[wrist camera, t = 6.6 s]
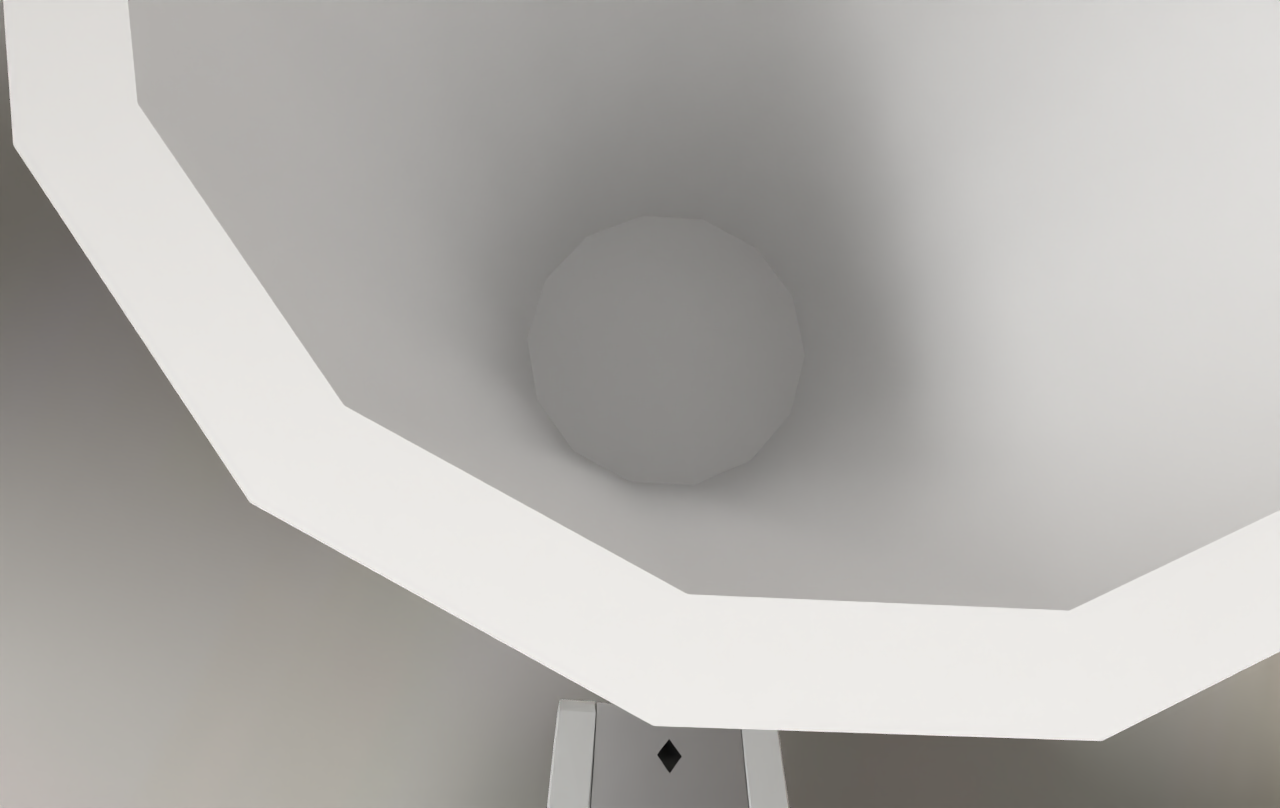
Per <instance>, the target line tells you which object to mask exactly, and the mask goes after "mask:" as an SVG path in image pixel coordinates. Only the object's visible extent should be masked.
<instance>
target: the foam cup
mask: <svg viewBox="0 0 1280 808" xmlns="http://www.w3.org/2000/svg"><path fill="white" fill-rule="evenodd" d="M3 7H4V22H5V36H6V50H7V64H8V78H9V93H10V107H11V121H12V135H13V146H14V147H15V149H16V150H17V152H18V153H19V155H20V156H21V158H22V159H23V161H24V162H25V164H26V165H27V167H28V168H29V170H30V171H31V173H32V174H33V176H34V177H35V179H36V180H37V182H38V183H39V185H40V186H41V188H42V189H43V191H44V192H45V194H46V196H47V197H48V199H49V200H50V202H51V203H52V205H53V206H54V208H55V209H56V211H57V212H58V214H59V215H60V217H61V218H62V220H63V221H64V223H65V224H66V226H67V227H68V229H69V230H70V232H71V233H72V235H73V236H74V238H75V239H76V241H77V242H78V244H79V245H80V247H81V248H82V250H83V251H84V253H85V254H86V256H87V257H88V259H89V260H90V262H91V263H92V265H93V266H94V268H95V269H96V271H97V273H98V274H99V276H100V277H101V279H102V280H103V282H104V283H105V285H106V286H107V288H108V289H109V291H110V292H111V294H112V295H113V297H114V298H115V300H116V301H117V303H118V304H119V306H120V307H121V309H122V310H123V312H124V313H125V315H126V316H127V318H128V319H129V321H130V322H131V324H132V325H133V327H134V328H135V330H136V331H137V333H138V334H139V336H140V337H141V339H142V340H143V342H144V343H145V345H146V346H147V348H148V349H149V351H150V353H151V354H152V356H153V357H154V359H155V360H156V362H157V363H158V365H159V366H160V368H161V369H162V371H163V372H164V374H165V375H166V377H167V378H168V380H169V381H170V383H171V384H172V386H173V387H174V389H175V390H176V392H177V393H178V395H179V396H180V398H181V399H182V401H183V402H184V404H185V405H186V407H187V408H188V410H189V411H190V413H191V414H192V416H193V417H194V419H195V420H196V422H197V423H198V425H199V426H200V428H201V430H202V431H203V433H204V434H205V436H206V437H207V439H208V440H209V442H210V443H211V445H212V446H213V448H214V449H215V451H216V452H217V454H218V455H219V457H220V458H221V460H222V461H223V463H224V464H225V466H226V467H227V469H228V470H229V472H230V473H231V475H232V476H233V478H234V479H235V481H236V482H237V484H238V485H239V487H240V488H241V490H242V491H243V493H244V494H245V496H246V497H247V499H248V500H249V502H250V503H251V504H253V505H255V506H257V507H259V508H260V509H262V510H264V511H266V512H268V513H270V514H271V515H273V516H275V517H277V518H279V519H280V520H282V521H284V522H286V523H288V524H289V525H291V526H293V527H295V528H297V529H298V530H300V531H302V532H304V533H306V534H307V535H309V536H311V537H313V538H315V539H317V540H318V541H320V542H322V543H324V544H326V545H327V546H329V547H331V548H333V549H335V550H336V551H338V552H340V553H342V554H344V555H345V556H347V557H349V558H351V559H353V560H354V561H356V562H358V563H360V564H362V565H363V566H365V567H367V568H369V569H371V570H373V571H374V572H376V573H378V574H380V575H382V576H383V577H385V578H387V579H389V580H391V581H392V582H394V583H396V584H398V585H400V586H401V587H403V588H405V589H407V590H409V591H410V592H412V593H414V594H416V595H418V596H419V597H421V598H423V599H425V600H427V601H429V602H430V603H432V604H434V605H436V606H438V607H439V608H441V609H443V610H445V611H447V612H448V613H450V614H452V615H454V616H456V617H457V618H459V619H461V620H463V621H465V622H466V623H468V624H470V625H472V626H474V627H476V628H477V629H479V630H481V631H483V632H485V633H486V634H488V635H490V636H492V637H494V638H495V639H497V640H499V641H501V642H503V643H504V644H506V645H508V646H510V647H512V648H513V649H515V650H517V651H519V652H521V653H522V654H524V655H526V656H528V657H530V658H532V659H533V660H535V661H537V662H539V663H541V664H542V665H544V666H546V667H548V668H550V669H551V670H553V671H555V672H557V673H559V674H560V675H562V676H564V677H566V678H568V679H569V680H571V681H573V682H575V683H577V684H578V685H580V686H582V687H584V688H586V689H588V690H589V691H591V692H593V693H595V694H597V695H598V696H600V697H602V698H604V699H606V700H607V701H609V702H611V703H613V704H615V705H616V706H618V707H620V708H622V709H624V710H625V711H627V712H629V713H631V714H633V715H634V716H636V717H638V718H640V719H642V720H644V721H645V722H647V723H649V724H651V725H653V726H668V727H697V728H727V729H757V730H787V731H816V732H846V733H876V734H906V735H935V736H965V737H995V738H1025V739H1054V740H1084V741H1103V740H1105V739H1107V738H1109V737H1111V736H1113V735H1115V734H1117V733H1119V732H1121V731H1123V730H1125V729H1127V728H1129V727H1131V726H1133V725H1135V724H1137V723H1139V722H1141V721H1143V720H1145V719H1147V718H1149V717H1151V716H1153V715H1155V714H1157V713H1159V712H1161V711H1163V710H1165V709H1167V708H1169V707H1171V706H1173V705H1175V704H1177V703H1179V702H1181V701H1183V700H1185V699H1187V698H1189V697H1191V696H1193V695H1195V694H1197V693H1199V692H1200V691H1202V690H1204V689H1206V688H1208V687H1210V686H1212V685H1214V684H1216V683H1218V682H1220V681H1222V680H1224V679H1226V678H1228V677H1230V676H1232V675H1234V674H1236V673H1238V672H1240V671H1242V670H1244V669H1246V668H1248V667H1250V666H1252V665H1254V664H1256V663H1258V662H1260V661H1262V660H1264V659H1266V658H1268V657H1270V656H1272V655H1274V654H1276V653H1278V652H1280V0H3Z"/></svg>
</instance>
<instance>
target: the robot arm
mask: <svg viewBox="0 0 1280 808" xmlns="http://www.w3.org/2000/svg"><path fill="white" fill-rule="evenodd" d="M547 808H790V806H789V799H788V792H787V785H786V778H785V771H784V764H783V758H782V751H781V744H780V737H779V730H757V729H727V728H697V727H668V726H653V725H651V724H649V723H647V722H645V721H644V720H642V719H640V718H638V717H636V716H634V715H633V714H631V713H629V712H627V711H625V710H624V709H622V708H620V707H618V706H616V705H615V704H613V703H604V702H596V701H584V700H566V699H560V702H559V707H558V711H557V719H556V728H555V737H554V747H553V756H552V765H551V774H550V783H549V792H548V801H547Z"/></svg>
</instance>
